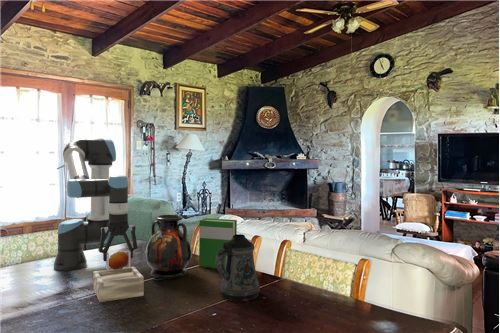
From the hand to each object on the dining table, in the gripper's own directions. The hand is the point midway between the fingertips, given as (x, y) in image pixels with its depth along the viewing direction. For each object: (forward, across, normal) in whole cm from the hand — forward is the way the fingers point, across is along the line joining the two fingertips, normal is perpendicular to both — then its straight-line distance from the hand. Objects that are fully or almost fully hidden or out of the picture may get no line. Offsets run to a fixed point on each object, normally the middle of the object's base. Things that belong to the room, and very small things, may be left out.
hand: (118, 267), depth 169 cm
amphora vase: (+11, +26, +14) cm, 31 cm away
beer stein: (+11, +43, -26) cm, 51 cm away
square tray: (+10, 0, 0) cm, 10 cm away
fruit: (+1, 0, 0) cm, 1 cm away
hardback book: (+11, +53, +17) cm, 57 cm away
